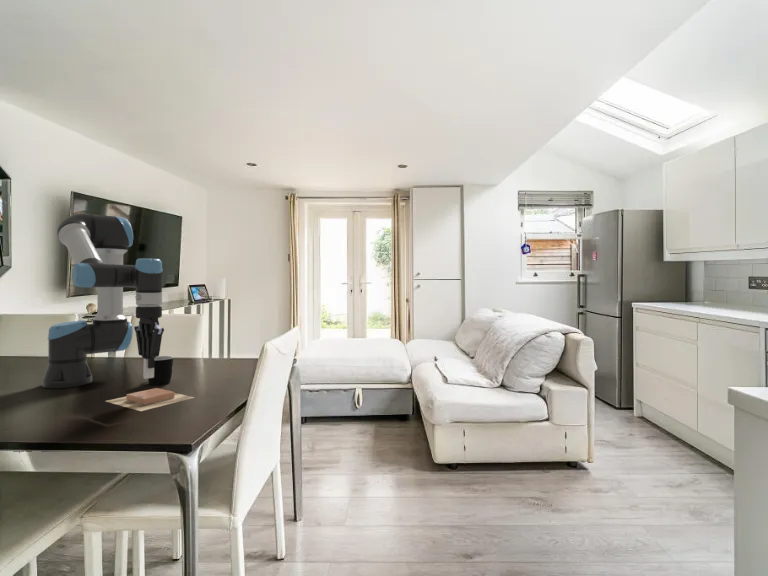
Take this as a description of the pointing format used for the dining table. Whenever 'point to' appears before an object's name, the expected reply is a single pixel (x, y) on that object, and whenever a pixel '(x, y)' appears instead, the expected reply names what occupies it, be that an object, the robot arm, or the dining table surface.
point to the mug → (162, 370)
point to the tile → (150, 396)
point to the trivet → (142, 407)
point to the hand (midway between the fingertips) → (148, 377)
